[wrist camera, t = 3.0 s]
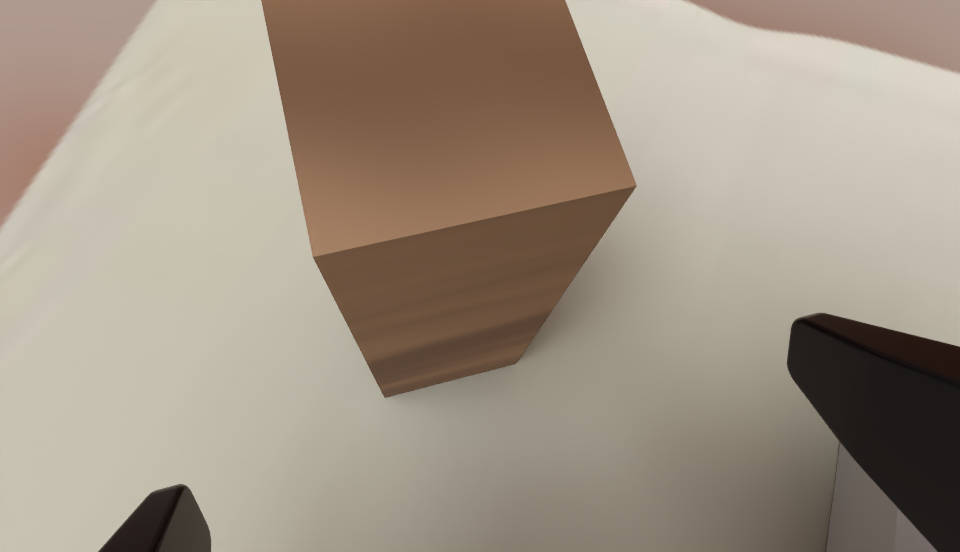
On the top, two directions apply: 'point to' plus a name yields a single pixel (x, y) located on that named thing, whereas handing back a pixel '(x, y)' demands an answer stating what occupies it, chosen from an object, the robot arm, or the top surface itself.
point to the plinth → (867, 515)
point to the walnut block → (445, 171)
